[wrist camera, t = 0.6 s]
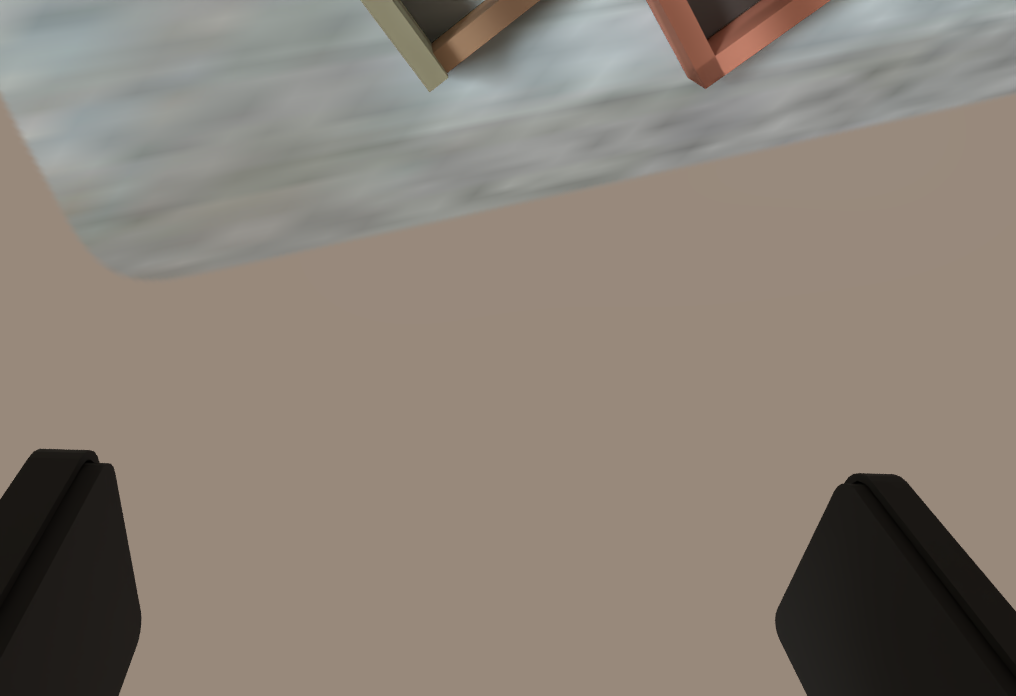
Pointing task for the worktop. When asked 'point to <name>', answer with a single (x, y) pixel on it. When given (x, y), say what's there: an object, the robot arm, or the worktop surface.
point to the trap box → (675, 4)
